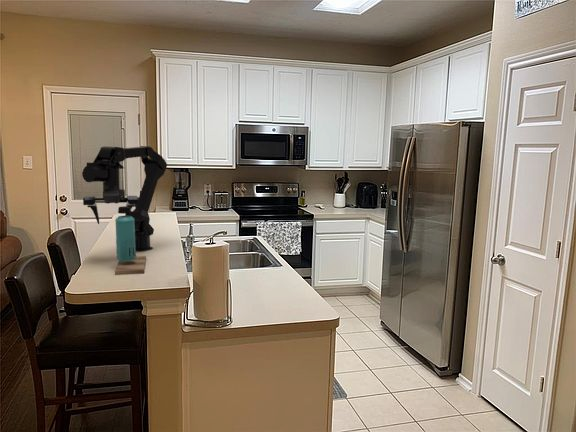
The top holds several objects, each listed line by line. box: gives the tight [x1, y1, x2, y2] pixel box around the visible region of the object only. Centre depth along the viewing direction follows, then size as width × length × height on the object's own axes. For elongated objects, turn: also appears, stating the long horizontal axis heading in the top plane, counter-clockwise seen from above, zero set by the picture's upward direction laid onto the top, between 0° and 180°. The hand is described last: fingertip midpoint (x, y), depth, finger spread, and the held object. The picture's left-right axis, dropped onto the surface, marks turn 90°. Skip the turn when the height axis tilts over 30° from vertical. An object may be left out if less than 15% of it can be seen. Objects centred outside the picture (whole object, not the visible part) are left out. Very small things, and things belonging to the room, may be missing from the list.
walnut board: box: [114, 255, 147, 276], centre depth 148 cm, size 18×9×1 cm, turn 16°
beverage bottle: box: [115, 205, 137, 262], centre depth 146 cm, size 6×7×20 cm
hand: (112, 223), depth 156 cm, fingers open, 9 cm apart
